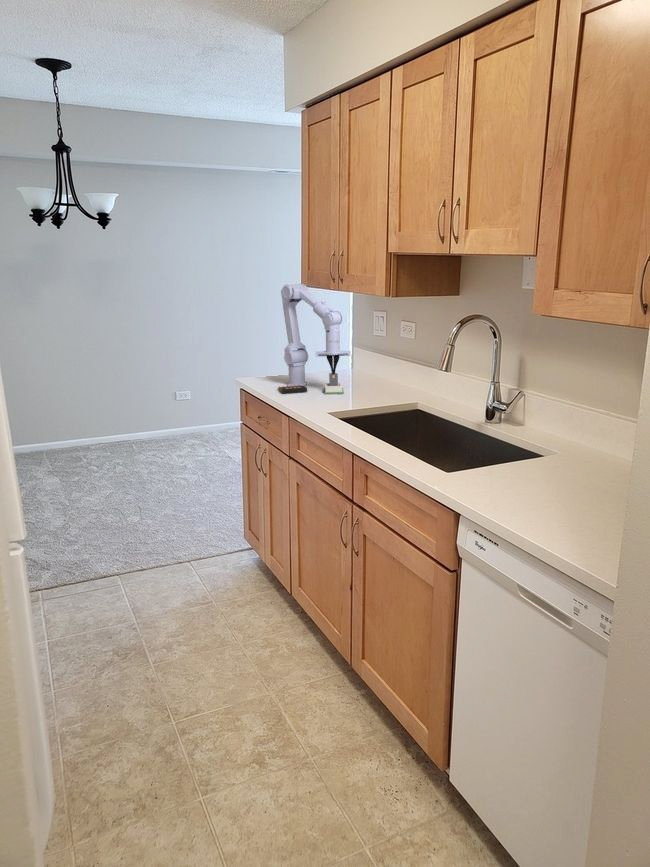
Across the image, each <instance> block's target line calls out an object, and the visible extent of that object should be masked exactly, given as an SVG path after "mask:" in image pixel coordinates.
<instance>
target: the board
mask: <svg viewBox="0 0 650 867" xmlns="http://www.w3.org/2000/svg"><path fill="white" fill-rule="evenodd" d="M323 389H324V393H323V394H324V395H344V394H345V392H344V387H343V383H342V382H338V386H329V382H327V383H326V382H325V384H324V388H323Z"/></svg>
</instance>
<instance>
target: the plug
mask: <svg viewBox="0 0 650 867" xmlns="http://www.w3.org/2000/svg"><path fill="white" fill-rule="evenodd" d="M328 375H329V376H328V379H329V380H328V381H329V382H328V383H329V386H338V383H339V381H338V380H339V378H338V377H339V374H338V373H336V372H335V374H332V372H331V373H329V372H328Z"/></svg>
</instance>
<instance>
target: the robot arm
mask: <svg viewBox="0 0 650 867" xmlns="http://www.w3.org/2000/svg"><path fill="white" fill-rule="evenodd" d="M280 294H281V301H282V308H283V309H282V310H283V316H284V323H285V329H286V335H287V342H288V344H287V345H286V347H285V348H284V349H283V350H284V356H283V359H284V362H285V364H286V365H287V366H288V383H287V386H294V385H296V386H298V385H302V386H305V387H307V381H306V372H305V371H306V369H305V368H306V367H305V365H307V364H306V363H307V362H308V359H309V353H308V351H307V347H306V345H305V344H303V343H302V342H301V335H300V328H299V323H298V316H297V310H296V307H297V305H298V304H299V303H300V302H301V301H304V302H305V303H306V304H308V306H310V307H311V308H312V310H313V313H314V314H316V316H318V317H319V318H320V319H321V322H322V323H323V326H324V329H323V330H325V350H322V351H321V350H320V351H315V358H319V357H326V359H327V362H328V364H329V366H330V371H331V373H332V374H335V373H336V369H337V365H338V362H339V360H340V357H346V356H347V357H350V356H351V350H341V348H340V347H341V344H340V342H341V341H340V338H341V337H340V325H341V324H342V322H343V315H342V314H341V312H340V311H339V310H334V309H333V308H331V307H330V306H329V305H328V304H326V301H324V300H323V301H322V300H318V299H317V298H316V297H315V296H314V295H313V294H312V293H311V292H310V290H309V288H308V286H306V285H305V284H304V283H297V284H294V283H293V284H285V285H283V287H282V288H281V290H280Z"/></svg>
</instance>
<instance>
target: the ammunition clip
mask: <svg viewBox="0 0 650 867" xmlns="http://www.w3.org/2000/svg"><path fill="white" fill-rule="evenodd" d="M277 389H278V390H279V391H280V392H281V394H282V395H286V394H296V393H297V394H298V393H308V387H307V386H302V385H298V386H296V385H294V386H288V385H285V386H284V385H283V386H278V388H277Z"/></svg>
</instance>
